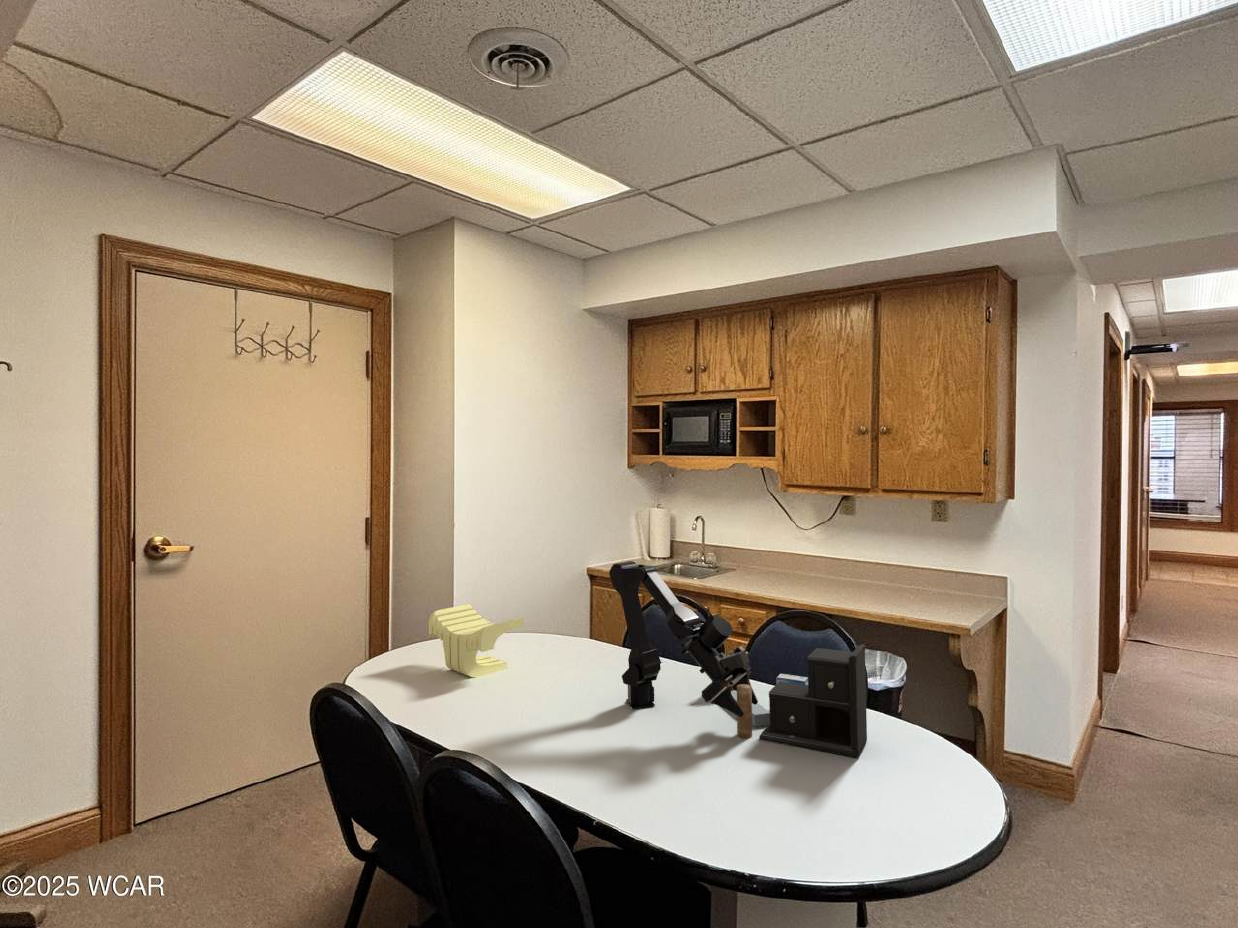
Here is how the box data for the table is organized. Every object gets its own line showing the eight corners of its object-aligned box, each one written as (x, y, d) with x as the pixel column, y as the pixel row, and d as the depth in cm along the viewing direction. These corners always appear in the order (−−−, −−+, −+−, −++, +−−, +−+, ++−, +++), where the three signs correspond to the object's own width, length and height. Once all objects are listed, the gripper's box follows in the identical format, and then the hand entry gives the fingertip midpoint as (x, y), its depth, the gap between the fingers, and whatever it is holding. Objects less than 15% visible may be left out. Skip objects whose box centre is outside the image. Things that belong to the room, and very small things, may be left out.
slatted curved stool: (429, 665, 234) (428, 611, 233) (470, 655, 245) (469, 603, 245) (482, 686, 213) (481, 627, 212) (524, 673, 224) (523, 617, 224)
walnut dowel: (741, 738, 172) (740, 689, 171) (734, 733, 175) (734, 684, 175) (754, 736, 173) (754, 688, 172) (748, 731, 176) (747, 683, 176)
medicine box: (776, 709, 191) (775, 677, 191) (780, 703, 195) (780, 672, 195) (805, 714, 187) (805, 681, 187) (809, 708, 191) (809, 676, 191)
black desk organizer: (758, 740, 171) (757, 643, 171) (772, 724, 181) (771, 632, 180) (858, 759, 160) (858, 656, 159) (867, 742, 169) (867, 644, 168)
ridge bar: (754, 726, 179) (754, 714, 179) (725, 702, 196) (724, 691, 196) (770, 724, 180) (770, 712, 180) (740, 700, 198) (739, 689, 198)
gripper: (713, 647, 168) (757, 702, 162) (743, 629, 183) (785, 679, 178) (683, 675, 172) (726, 729, 166) (715, 655, 188) (755, 704, 182)
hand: (749, 709), depth 173 cm, fingers open, 9 cm apart
